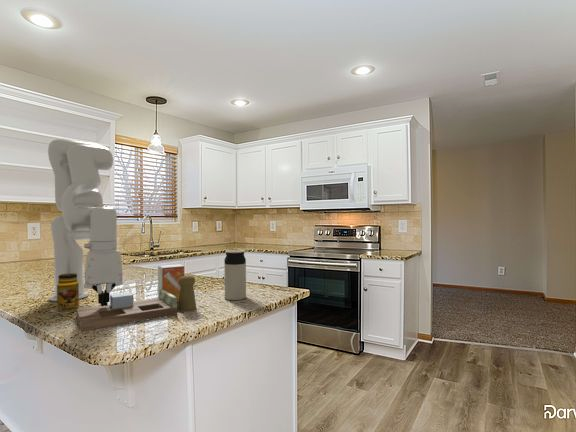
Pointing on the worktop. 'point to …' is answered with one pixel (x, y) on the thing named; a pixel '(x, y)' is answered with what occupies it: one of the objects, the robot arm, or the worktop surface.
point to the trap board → (127, 312)
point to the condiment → (67, 294)
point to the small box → (170, 278)
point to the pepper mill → (186, 294)
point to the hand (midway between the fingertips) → (103, 305)
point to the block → (121, 300)
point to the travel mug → (235, 275)
